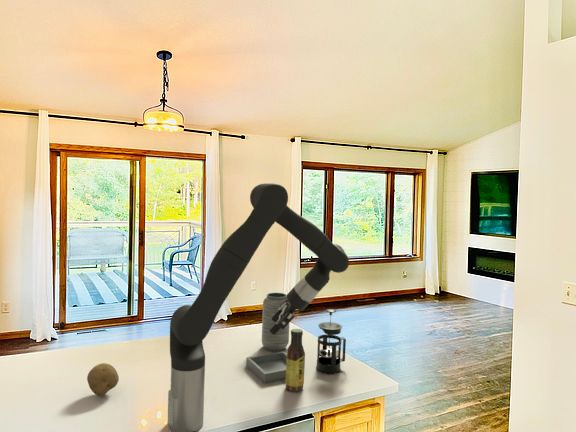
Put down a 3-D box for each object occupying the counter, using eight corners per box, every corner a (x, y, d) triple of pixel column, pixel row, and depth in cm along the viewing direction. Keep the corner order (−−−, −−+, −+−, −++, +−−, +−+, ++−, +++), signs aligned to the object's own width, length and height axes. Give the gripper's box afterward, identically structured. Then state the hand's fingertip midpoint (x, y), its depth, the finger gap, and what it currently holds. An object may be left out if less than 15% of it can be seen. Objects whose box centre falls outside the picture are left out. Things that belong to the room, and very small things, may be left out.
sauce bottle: (301, 393, 138) (304, 334, 137) (283, 391, 139) (285, 332, 138) (305, 385, 145) (307, 328, 144) (287, 382, 146) (289, 326, 145)
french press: (319, 375, 152) (322, 313, 151) (310, 365, 161) (313, 307, 160) (348, 373, 156) (351, 312, 155) (338, 363, 165) (341, 305, 164)
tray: (264, 383, 144) (264, 374, 144) (246, 366, 158) (246, 357, 158) (303, 375, 152) (304, 366, 152) (283, 359, 166) (283, 351, 166)
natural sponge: (109, 385, 139) (110, 356, 138) (123, 394, 133) (124, 363, 132) (82, 395, 132) (82, 364, 131) (95, 404, 126) (96, 372, 125)
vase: (257, 350, 175) (259, 296, 174) (266, 341, 186) (268, 290, 185) (283, 354, 172) (285, 299, 170) (291, 345, 183) (293, 293, 182)
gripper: (295, 278, 147) (265, 310, 150) (294, 295, 133) (262, 330, 136) (311, 291, 147) (281, 323, 151) (312, 309, 134) (279, 343, 137)
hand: (272, 326), depth 143 cm, fingers open, 8 cm apart
